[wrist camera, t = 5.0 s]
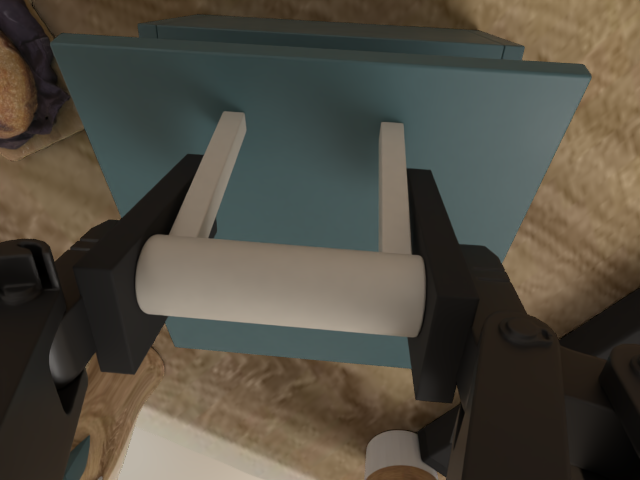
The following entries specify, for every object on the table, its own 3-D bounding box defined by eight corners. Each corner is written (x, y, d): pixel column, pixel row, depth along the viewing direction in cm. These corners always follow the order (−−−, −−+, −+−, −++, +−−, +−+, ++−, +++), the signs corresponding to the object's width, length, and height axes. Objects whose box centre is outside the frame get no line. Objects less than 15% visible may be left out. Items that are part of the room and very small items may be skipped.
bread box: (197, 14, 25) (136, 23, 19) (480, 30, 25) (525, 46, 18) (216, 265, 33) (179, 336, 27) (429, 283, 33) (447, 360, 26)
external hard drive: (417, 430, 40) (421, 460, 38) (667, 267, 31) (696, 293, 28) (521, 501, 44) (532, 533, 41) (774, 375, 34) (808, 407, 32)
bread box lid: (60, 31, 14) (-153, 214, 8) (585, 62, 13) (736, 285, 8) (178, 335, 26) (125, 488, 21) (448, 359, 26) (467, 524, 20)
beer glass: (91, 322, 37) (-56, 503, 24) (174, 344, 38) (74, 534, 24) (89, 380, 40) (-42, 567, 27) (165, 400, 41) (73, 593, 28)
